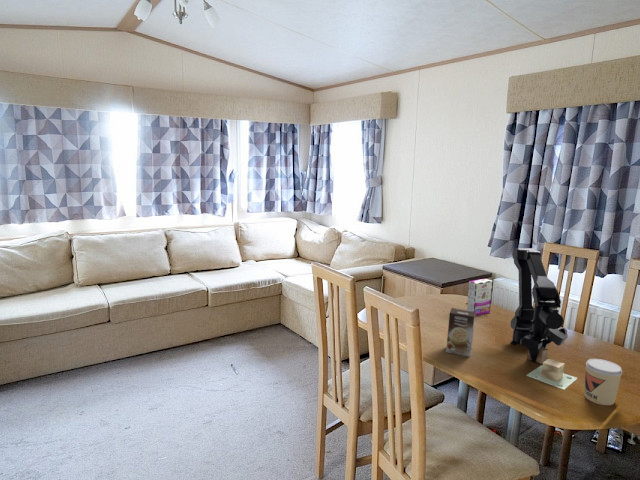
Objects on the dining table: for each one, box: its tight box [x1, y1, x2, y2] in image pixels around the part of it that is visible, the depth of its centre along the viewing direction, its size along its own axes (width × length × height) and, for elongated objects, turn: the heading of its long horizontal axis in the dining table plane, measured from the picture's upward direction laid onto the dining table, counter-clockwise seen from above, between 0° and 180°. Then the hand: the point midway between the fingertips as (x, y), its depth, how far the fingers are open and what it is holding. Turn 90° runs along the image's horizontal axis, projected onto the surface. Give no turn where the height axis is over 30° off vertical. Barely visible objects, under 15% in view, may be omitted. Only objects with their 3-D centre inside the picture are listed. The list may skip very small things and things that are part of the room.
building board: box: [525, 365, 578, 390], centre depth 148 cm, size 12×12×1 cm
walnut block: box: [526, 348, 549, 365], centre depth 161 cm, size 5×5×5 cm
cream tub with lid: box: [583, 358, 623, 406], centre depth 134 cm, size 9×9×12 cm
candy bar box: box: [466, 278, 493, 317], centre depth 211 cm, size 11×5×16 cm, turn 117°
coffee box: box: [445, 307, 476, 358], centre depth 167 cm, size 9×6×16 cm
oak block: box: [541, 358, 565, 382], centre depth 147 cm, size 5×5×5 cm
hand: (537, 359), depth 161 cm, fingers closed on walnut block, 5 cm apart
